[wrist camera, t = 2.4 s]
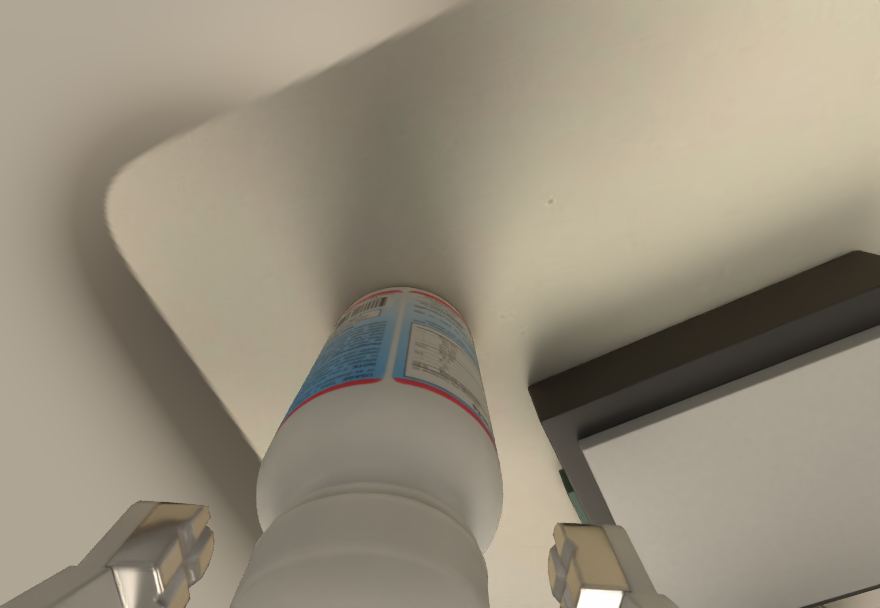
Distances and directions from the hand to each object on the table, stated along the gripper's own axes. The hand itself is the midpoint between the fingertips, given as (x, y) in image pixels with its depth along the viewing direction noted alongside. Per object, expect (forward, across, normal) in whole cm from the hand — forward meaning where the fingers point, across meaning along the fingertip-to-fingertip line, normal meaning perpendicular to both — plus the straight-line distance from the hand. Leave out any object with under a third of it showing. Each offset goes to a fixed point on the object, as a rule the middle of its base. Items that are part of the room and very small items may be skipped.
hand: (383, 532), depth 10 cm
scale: (+9, -15, +4) cm, 18 cm away
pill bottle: (+9, 0, 0) cm, 9 cm away
